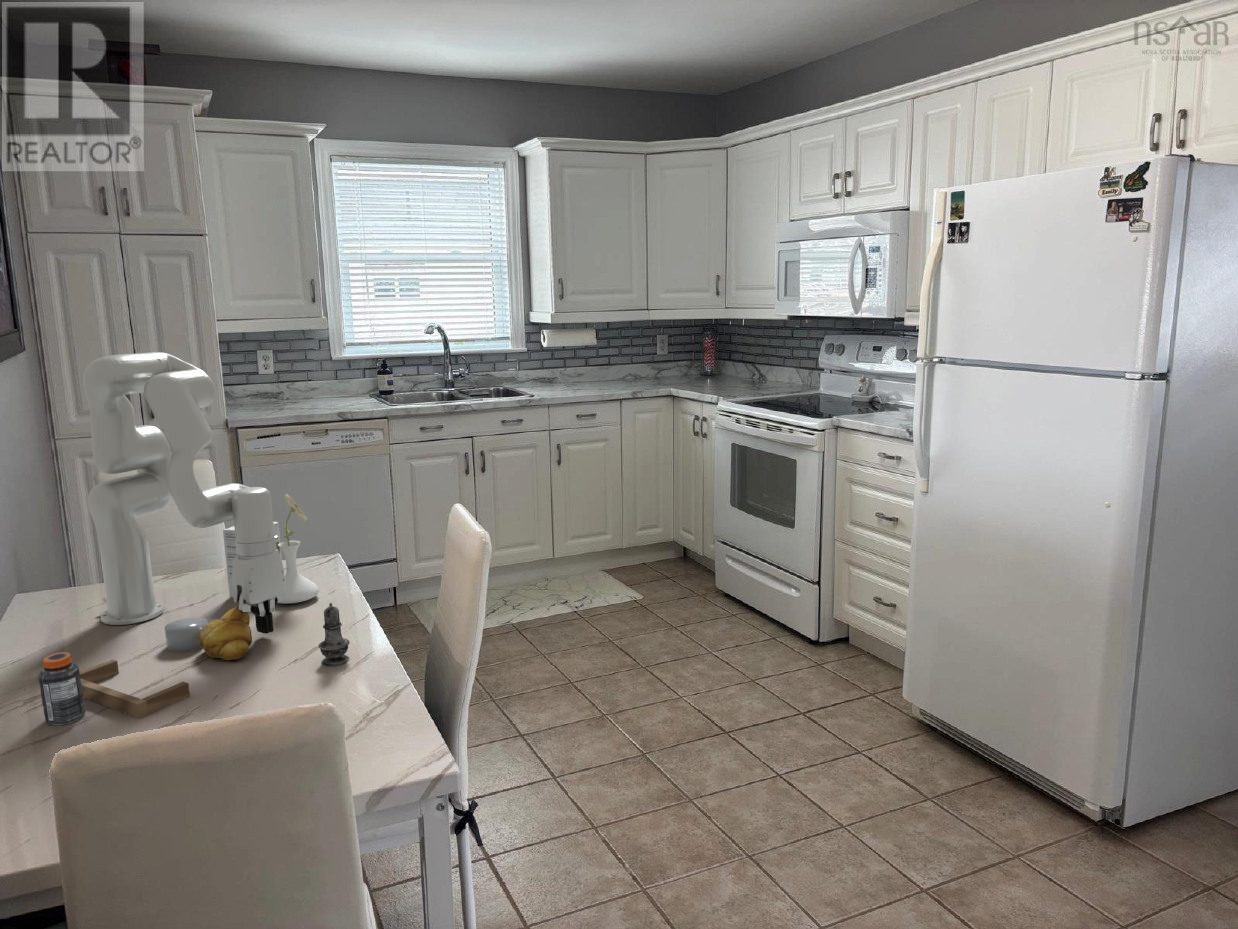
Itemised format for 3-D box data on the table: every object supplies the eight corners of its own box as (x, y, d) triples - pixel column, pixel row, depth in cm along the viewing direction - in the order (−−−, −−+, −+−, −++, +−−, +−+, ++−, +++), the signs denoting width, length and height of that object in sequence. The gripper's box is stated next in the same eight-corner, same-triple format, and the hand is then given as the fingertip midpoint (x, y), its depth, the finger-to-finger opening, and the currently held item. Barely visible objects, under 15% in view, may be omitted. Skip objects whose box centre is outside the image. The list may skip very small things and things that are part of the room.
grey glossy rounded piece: (158, 648, 183) (156, 627, 182) (193, 635, 190) (191, 615, 189) (183, 655, 179) (180, 634, 179) (218, 641, 186) (216, 621, 185)
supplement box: (263, 600, 211) (256, 531, 208) (228, 598, 213) (221, 529, 210) (285, 587, 220) (279, 521, 217) (252, 585, 222) (245, 519, 219)
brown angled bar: (63, 691, 164) (61, 678, 163) (114, 671, 172) (112, 659, 171) (139, 718, 152) (138, 704, 152) (190, 696, 161) (188, 683, 160)
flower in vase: (316, 605, 207) (307, 500, 202) (264, 610, 204) (254, 503, 200) (323, 588, 219) (314, 488, 214) (274, 592, 217) (264, 491, 212)
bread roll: (257, 660, 176) (253, 621, 175) (203, 670, 172) (198, 630, 170) (251, 638, 187) (247, 602, 186) (200, 647, 183) (196, 610, 182)
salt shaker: (357, 656, 177) (352, 599, 174) (338, 668, 171) (333, 609, 169) (332, 653, 179) (327, 596, 176) (313, 665, 173) (308, 606, 171)
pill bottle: (57, 711, 156) (47, 650, 153) (92, 709, 156) (83, 648, 154) (38, 727, 150) (28, 664, 148) (74, 725, 150) (65, 662, 148)
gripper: (273, 536, 192) (281, 617, 196) (212, 554, 179) (222, 641, 183) (297, 540, 189) (305, 622, 192) (237, 559, 176) (247, 647, 179)
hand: (265, 631), depth 187 cm, fingers closed
